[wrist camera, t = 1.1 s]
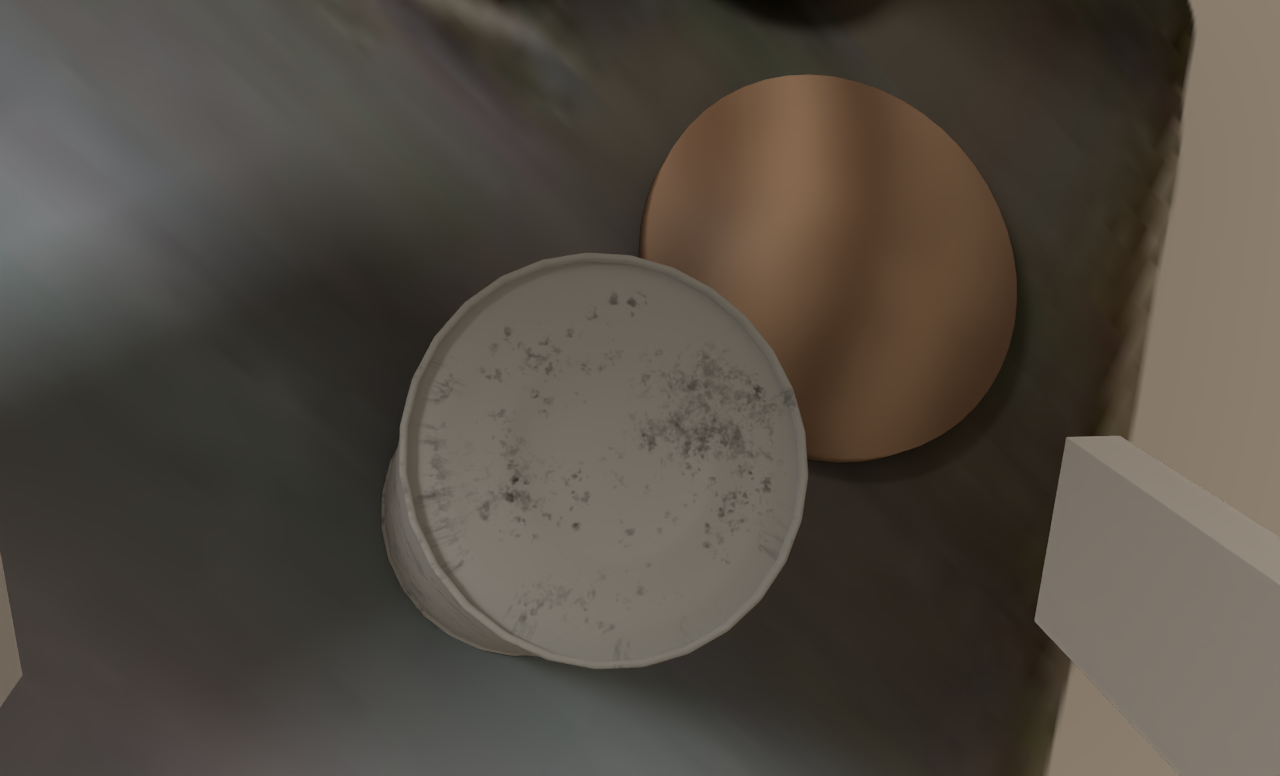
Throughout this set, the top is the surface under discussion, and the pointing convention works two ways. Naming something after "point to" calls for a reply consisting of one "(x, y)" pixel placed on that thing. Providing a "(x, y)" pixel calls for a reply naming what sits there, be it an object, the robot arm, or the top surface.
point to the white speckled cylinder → (594, 466)
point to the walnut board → (844, 255)
